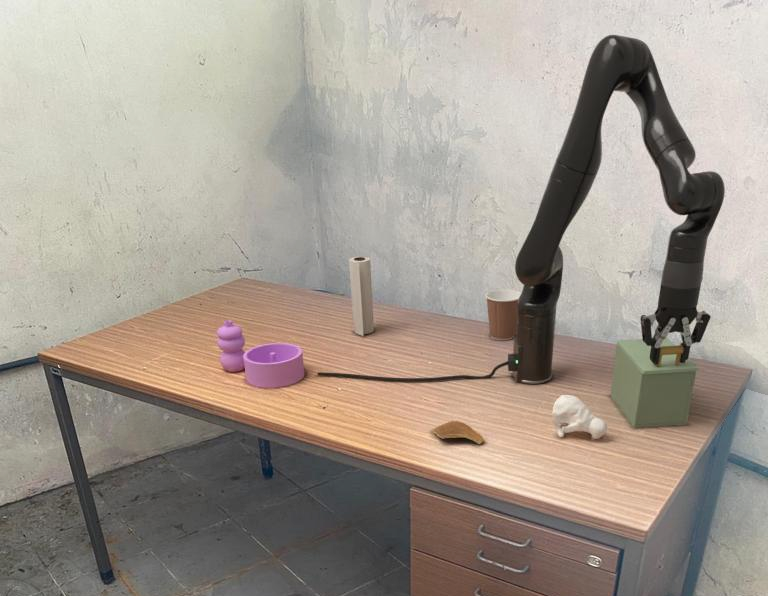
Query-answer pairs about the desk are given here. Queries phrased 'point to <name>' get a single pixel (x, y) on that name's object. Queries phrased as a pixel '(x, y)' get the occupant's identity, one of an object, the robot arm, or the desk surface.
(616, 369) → the chest
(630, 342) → the lid
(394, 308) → the desk surface
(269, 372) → the container set
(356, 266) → the beige tall hexagonal prism
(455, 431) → the pottery shard
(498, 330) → the coffee cup
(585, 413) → the white lumpy piece
